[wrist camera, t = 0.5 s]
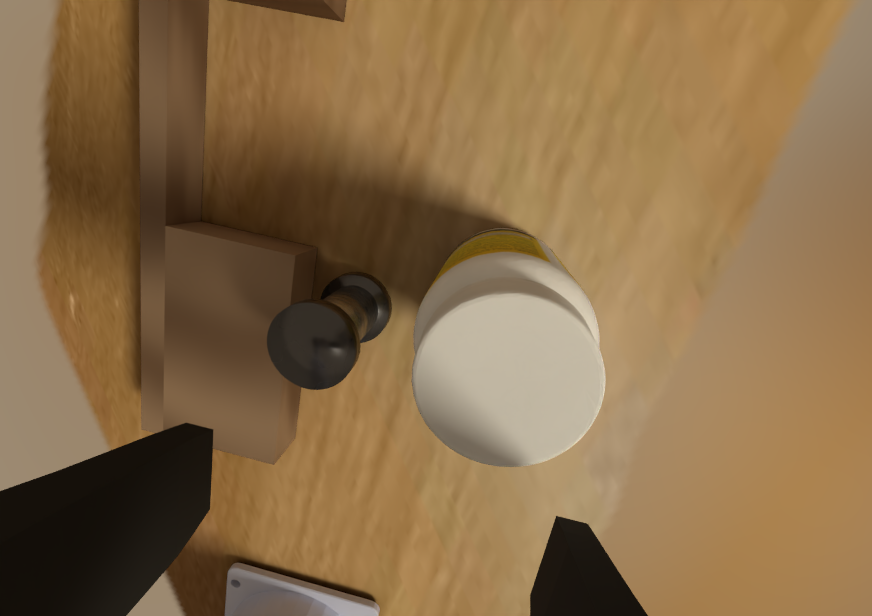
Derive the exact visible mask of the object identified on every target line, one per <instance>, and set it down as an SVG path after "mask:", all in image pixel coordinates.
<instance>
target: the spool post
mask: <svg viewBox="0 0 872 616" xmlns="http://www.w3.org/2000/svg"><path fill="white" fill-rule="evenodd" d="M391 310H392V306H391V300H390V296H389V294H388V292H387V290H386V288H385V287H384V286H383V285H382V284H381V283H380V282H379V281H378V280H377V279H376V278H374V277H372V276H370V275H368V274H365V273H360V272H351V273H347V274H344V275H342V276H340V277H338V278H336V279H335V280H333V281H332V282H330V283H329V284H328V285H327V286H326V288H325V289H324V291H323V293H322V296H321V299H305V300H301V301H298V302H296V303H294V304H292V305H291V306H289V307H287V308H285V309H284V310H282V311H281V312H280V313H278V314H277V315H276V317H275V318H274V319H273V321H272V322H271V324H270V326H269V329H268V333H267V349H268V353H269V356H270V358H271V361H272V363H273V364H274V366H275V367H276V369H277V370H278V371H279V372H280V374H281V375H282V376H284V377H285V378H286V379H287V380H289V381H290V382H292V383H293V384H295V385H297V386H300V387H303V388H307V389H314V390H319V389H326V388H330V387H332V386H334V385H336V384H338V383H339V382H341V381H342V380H343V379H344V378H345V377H346V376H347V375H348V373H349V372H350V371H351V369H352V368H353V367H354V366H355V364H356V362H357V360H358V357H359V353H360V343H362V342H367V341H369V340H372V339H373V338H375V337H376V336H378V335H379V334H380V333H381V331H382V330H383V329H384V328H385V326H386V325H387V323H388V322H389V319H390V316H391Z"/></svg>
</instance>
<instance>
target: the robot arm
mask: <svg viewBox="0 0 872 616" xmlns="http://www.w3.org/2000/svg"><path fill="white" fill-rule="evenodd" d="M213 430H214V429H210V428H206V427H202V426H198V425H194V424H190V423H184V424H181V425H178V426H174V427H172V428H169V429H166V430H163V431H161V432H158V433H155V434H153V435H150V436H147V437H145V438H142V439H139V440H137V441H134V442H132V443H129V444H127V445H124V446H121V447H119V448H116V449H114V450H111V451H109V452H106V453H103V454H101V455H98V456H96V457H93V458H90V459H88V460H85V461H82V462H80V463H77V464H75V465H72V466H69V467H67V468H64V469H62V470H59V471H56V472H53V473H51V474H48V475H45V476H42V477H39V478H36V479H33V480H31V481H28V482H25V483H22V484H20V485H16V486H14V487H11V488H8V489H5V490H3V491H0V616H126V615H127V614H128V613H129V612H130V611H131V609H132V608H133V607H134V606H135V605H136V604H137V603H138V601H139V600H140V599H141V598H142V597H143V596H144V595H145V593H146V592H147V591H148V590H149V589H150V588H151V586H152V585H153V584H154V583H155V582H156V581H157V579H158V578H159V577H160V576H161V575H162V574H163V573H164V571H165V570H166V569H167V568H168V567H169V565H170V564H171V563H172V562H173V561H174V560H175V558H176V557H177V556H178V555H179V553H180V552H181V550H182V549H183V548H184V546H185V545H186V543H187V542H188V541H189V539H190V538H191V536H192V535H193V533H194V532H195V530H196V529H197V527H198V526H199V524H200V523H201V522H202V520H203V519H204V517H205V516H206V514H207V513H208V511H209V510H210V496H211V474H212V452H213ZM379 611H380V608H379V606H378V604H377V603H375V602H374V601H372V600H368V599H365V598H361V597H358V596H354V595H351V594H347V593H344V592H340V591H337V590H333V589H330V588H326V587H323V586H319V585H316V584H312V583H309V582H305V581H302V580H298V579H295V578H291V577H288V576H284V575H281V574H278V573H274V572H271V571H267V570H264V569H260V568H257V567H253V566H250V565H246V564H243V563H234V564H233V565H232V566H231V567H230V569H229V570H228V574H227V588H226V603H225V616H379ZM530 616H648V615H647V614H646V612H645V611H644V609H643V608H642V606H641V605H640V603H639V602H638V601H637V599H636V598H635V596H634V595H633V593H632V592H631V590H630V588H629V587H628V585H627V584H626V582H625V581H624V579H623V578H622V576H621V575H620V573H619V572H618V570H617V569H616V567H615V566H614V564H613V562H612V561H611V559H610V558H609V556H608V555H607V553H606V552H605V550H604V548H603V547H602V545H601V544H600V542H599V541H598V539H597V537H596V536H595V534H594V533H593V531H592V530H591V528H590V527H589V525H588V524H586V523H582V522H578V521H574V520H570V519H566V518H562V517H558V516H556V519H555V522H554V525H553V528H552V531H551V534H550V537H549V540H548V543H547V546H546V549H545V552H544V555H543V558H542V561H541V564H540V567H539V570H538V573H537V576H536V579H535V582H534V586H533V589H532V592H531V595H530Z"/></svg>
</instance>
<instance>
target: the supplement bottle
mask: <svg viewBox="0 0 872 616" xmlns="http://www.w3.org/2000/svg"><path fill="white" fill-rule="evenodd" d="M414 350H415V357H414V361H413V367H412V386H413V394H414V397H415V401H416V404H417V406H418V409H419V412H420V414H421V416H422V417H423V419H424V421H425V423H426V424H427V426H428V427H429V428H430V429H431V431H432V432H433V433H434V434H435V435H436V436H437V437H438V438H439V439H440V440H441V441H442V442H443V443H444V444H445V445H447V446H448V447H449V448H451V449H452V450H454V451H455V452H457V453H458V454H460V455H462V456H464V457H467V458H469V459H471V460H474V461H477V462H480V463H483V464H488V465H493V466H503V467H519V466H528V465H533V464H537V463H541V462H544V461H547V460H549V459H551V458H554V457H556V456H558V455H560V454H561V453H563V452H564V451H566V450H568V449H569V448H571V447H572V446H573V445H574V444H575V443H577V442H578V441H579V440H580V439H581V438H582V437H583V436H584V434H585V433H586V432H587V431H588V429H589V428H590V427H591V425H592V423H593V422H594V420H595V418H596V416H597V414H598V412H599V410H600V407H601V405H602V401H603V397H604V392H605V368H604V363H603V359H602V355H601V352H600V349H599V329H598V324H597V320H596V316H595V313H594V310H593V308H592V305H591V303H590V301H589V299H588V298H587V296H586V294H585V292H584V291H583V289H582V288H581V287H580V285H579V284H578V283H577V281H576V280H575V279H574V278H573V277H572V275H571V274H570V273H569V272H568V270H567V269H566V268H565V267H564V265H563V264H562V263H561V261H560V260H559V259H558V258H557V256H556V255H555V254H554V252H553V251H552V250H551V249H550V248H549V247H548V246H547V245H546V244H545V243H543V242H542V241H541V240H539V239H537V238H536V237H534V236H532V235H530V234H528V233H525V232H522V231H519V230H515V229H509V228H496V229H490V230H486V231H482V232H479V233H477V234H475V235H473V236H471V237H469V238H468V239H466V240H465V241H464V242H462V243H461V244H460V245H459V246H458V247H457V248H456V249H455V250H454V251H453V252H452V253H451V255H450V256H449V257H448V259H447V260H446V262H445V264H444V266H443V267H442V269H441V270H440V272H439V274H438V275H437V277H436V278H435V280H434V282H433V284H432V285H431V286H430V288H429V290H428V291H427V293H426V295H425V297H424V299H423V301H422V303H421V305H420V307H419V310H418V313H417V316H416V321H415V326H414Z"/></svg>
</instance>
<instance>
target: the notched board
mask: <svg viewBox="0 0 872 616" xmlns="http://www.w3.org/2000/svg"><path fill="white" fill-rule="evenodd" d="M229 1H234V2H240V3H245V4H251V5H256V6H261V7H267V8H272V9H278V10H283V11H288V12H294V13H299V14H305V15H310V16H315V17H321V18H326V19H332V20H337V21H342V22H344V16H345V8H346V0H229ZM208 11H209V0H139V104H140V265H141V426H142V430H146V431H149V432H153V433H158V432H161V431H163V430H166V429H169V428H172V427H174V426H178V425H181V424H184V423H190V424H194V425H198V426H202V427H206V428H210V429H214V430H213V449H217V450H220V451H224V452H228V453H232V454H235V455H239V456H243V457H246V458H250V459H254V460H258V461H261V462H265V463H269V464H273V465H274V464H275V463H276V462H277V460H278V459H279V458H280V457H281V455H282V454H283V453H284V452H285V450H286V449H287V448H288V447H289V445H290V444H291V443H292V441H293V440H294V439H295V435H296V427H297V418H298V410H299V401H300V393H301V387H300V386H297V385H295V384H293V383H292V382H290V381H289V380H287V379H286V378H285V377H284V376H282V375H281V374H280V372H279V371H278V370H277V369H276V367H275V366H274V364H273V363H272V361H271V358H270V356H269V353H268V349H267V333H268V329H269V326H270V324H271V322H272V321H273V319H274V318H275V317H276V315H277V314H278V313H280V312H281V311H282V310H284V309H285V308H287V307H289V306H291V305H292V304H294V303H296V302H298V301H301V300H305V299H312V290H313V281H314V273H315V264H316V256H317V247H312V246H308V245H304V244H299V243H295V242H290V241H286V240H282V239H277V238H273V237H268V236H264V235H259V234H255V233H251V232H246V231H242V230H237V229H233V228H229V227H224V226H220V225H215V224H211V223H206V222H202V221H201V209H202V181H203V152H204V124H205V96H206V68H207V39H208Z"/></svg>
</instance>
